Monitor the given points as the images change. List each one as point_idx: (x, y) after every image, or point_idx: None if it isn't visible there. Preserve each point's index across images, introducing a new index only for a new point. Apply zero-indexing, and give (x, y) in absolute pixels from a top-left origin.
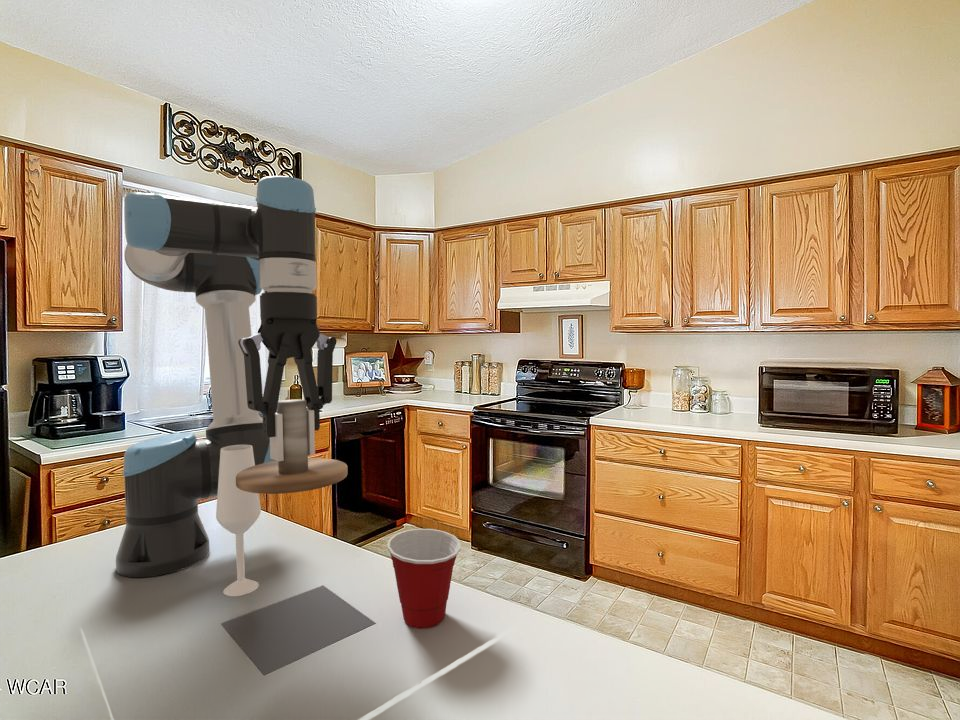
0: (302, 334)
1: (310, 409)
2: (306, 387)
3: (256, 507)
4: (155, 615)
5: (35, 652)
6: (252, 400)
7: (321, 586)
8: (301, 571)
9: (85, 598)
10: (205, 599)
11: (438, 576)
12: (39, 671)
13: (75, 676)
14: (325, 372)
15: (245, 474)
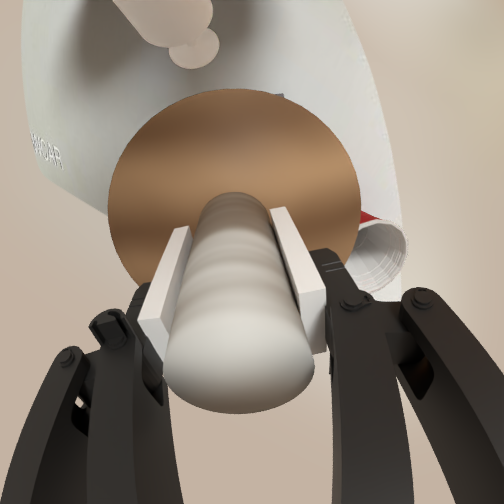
0: None
1: (325, 331)
2: (334, 430)
3: (199, 29)
4: (108, 65)
5: (36, 98)
6: (79, 413)
7: (280, 95)
8: (272, 35)
9: (62, 13)
10: (154, 49)
11: (355, 275)
12: (42, 129)
13: (62, 148)
14: (443, 469)
15: (126, 200)
